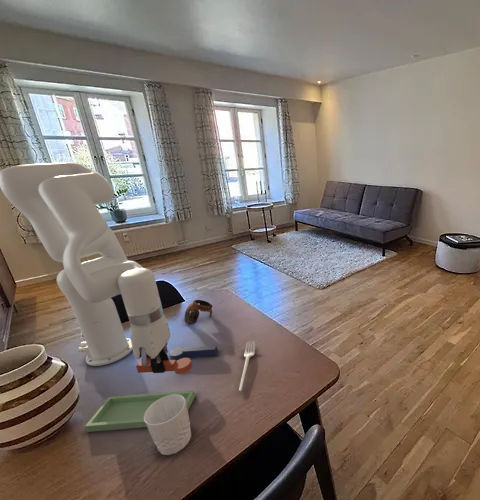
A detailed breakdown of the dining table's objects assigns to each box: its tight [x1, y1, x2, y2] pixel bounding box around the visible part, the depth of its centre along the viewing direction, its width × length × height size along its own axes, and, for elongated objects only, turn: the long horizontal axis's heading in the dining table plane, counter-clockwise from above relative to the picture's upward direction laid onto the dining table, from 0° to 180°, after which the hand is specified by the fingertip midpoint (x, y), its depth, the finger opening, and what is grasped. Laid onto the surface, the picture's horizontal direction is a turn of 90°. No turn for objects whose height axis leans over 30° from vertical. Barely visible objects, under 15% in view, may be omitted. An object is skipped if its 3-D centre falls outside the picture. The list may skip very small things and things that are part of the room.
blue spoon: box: [169, 345, 219, 361], centre depth 94 cm, size 14×4×2 cm, turn 95°
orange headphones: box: [183, 299, 213, 325], centre depth 113 cm, size 12×10×8 cm
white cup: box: [144, 394, 192, 456], centre depth 66 cm, size 8×8×10 cm
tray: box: [84, 390, 196, 433], centre depth 74 cm, size 22×9×2 cm, turn 95°
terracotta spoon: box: [135, 357, 193, 375], centre depth 84 cm, size 14×4×2 cm, turn 95°
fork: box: [238, 340, 256, 393], centre depth 89 cm, size 3×20×2 cm, turn 9°
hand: (161, 368), depth 84 cm, fingers closed on terracotta spoon, 1 cm apart
